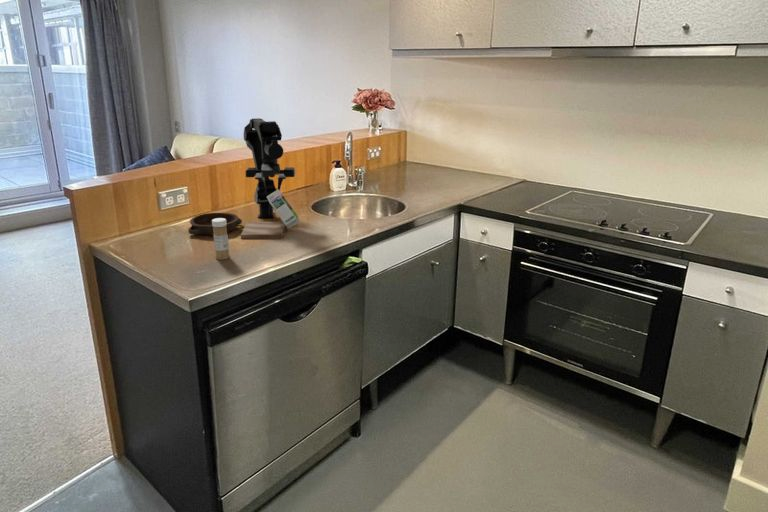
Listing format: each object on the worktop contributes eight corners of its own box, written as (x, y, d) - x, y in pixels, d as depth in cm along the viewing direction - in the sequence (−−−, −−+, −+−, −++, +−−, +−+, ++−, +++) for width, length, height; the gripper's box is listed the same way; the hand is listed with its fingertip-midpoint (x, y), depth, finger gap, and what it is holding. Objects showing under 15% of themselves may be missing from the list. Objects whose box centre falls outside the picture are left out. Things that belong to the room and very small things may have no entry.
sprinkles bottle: (225, 254, 179) (221, 216, 175) (232, 257, 177) (228, 219, 172) (212, 257, 176) (209, 219, 172) (220, 261, 173) (216, 222, 169)
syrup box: (286, 225, 201) (265, 195, 204) (288, 229, 207) (268, 201, 209) (298, 217, 202) (278, 188, 205) (300, 221, 208) (280, 193, 210)
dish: (177, 231, 202) (176, 219, 200) (228, 220, 217) (227, 208, 215) (201, 242, 191) (200, 229, 189) (252, 229, 206) (251, 217, 204)
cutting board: (248, 225, 210) (248, 221, 210) (286, 225, 211) (285, 221, 211) (241, 238, 195) (240, 234, 195) (281, 238, 196) (281, 234, 196)
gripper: (241, 158, 196) (245, 199, 201) (291, 158, 197) (294, 198, 203) (246, 153, 206) (249, 191, 212) (294, 153, 208) (296, 191, 213)
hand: (272, 193), depth 210 cm, fingers open, 5 cm apart
